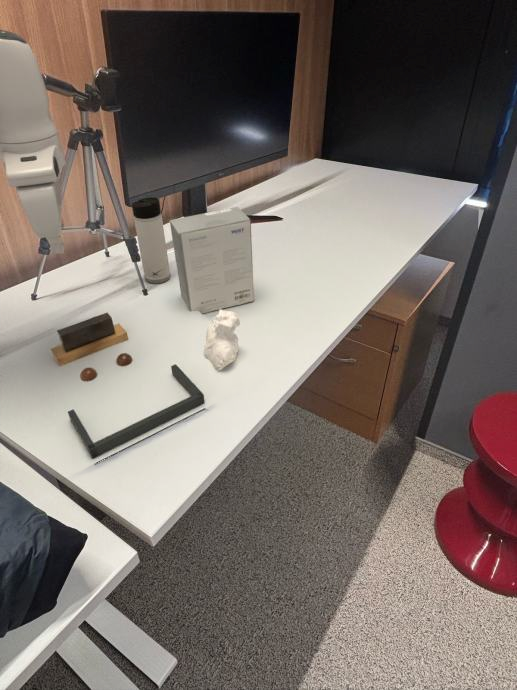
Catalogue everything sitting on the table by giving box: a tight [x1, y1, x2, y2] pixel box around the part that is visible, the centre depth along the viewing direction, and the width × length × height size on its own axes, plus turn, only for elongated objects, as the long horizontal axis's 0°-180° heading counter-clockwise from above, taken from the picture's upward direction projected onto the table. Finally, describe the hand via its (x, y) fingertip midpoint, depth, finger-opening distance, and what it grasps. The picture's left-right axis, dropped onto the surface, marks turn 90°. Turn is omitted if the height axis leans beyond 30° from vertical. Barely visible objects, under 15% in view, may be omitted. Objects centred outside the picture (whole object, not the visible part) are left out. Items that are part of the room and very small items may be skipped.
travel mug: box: [131, 197, 171, 285], centre depth 113 cm, size 6×7×20 cm
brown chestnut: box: [79, 367, 98, 382], centre depth 89 cm, size 3×3×3 cm
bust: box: [203, 309, 241, 372], centre depth 92 cm, size 12×8×11 cm
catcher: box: [67, 363, 206, 465], centre depth 81 cm, size 20×10×4 cm, turn 126°
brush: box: [50, 312, 129, 367], centre depth 94 cm, size 14×4×7 cm, turn 126°
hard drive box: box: [168, 206, 255, 315], centre depth 104 cm, size 16×8×20 cm, turn 113°
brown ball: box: [115, 352, 133, 367], centre depth 92 cm, size 3×3×3 cm
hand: (59, 239), depth 81 cm, fingers open, 8 cm apart
